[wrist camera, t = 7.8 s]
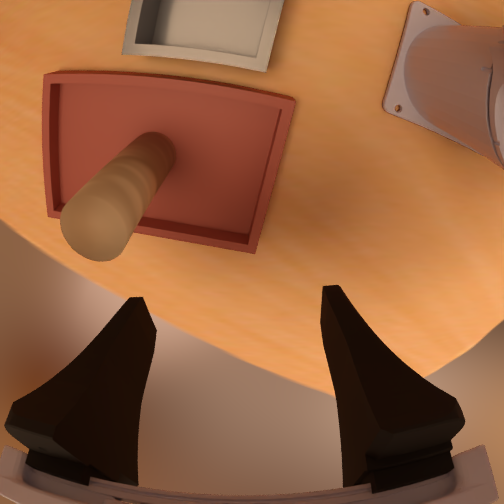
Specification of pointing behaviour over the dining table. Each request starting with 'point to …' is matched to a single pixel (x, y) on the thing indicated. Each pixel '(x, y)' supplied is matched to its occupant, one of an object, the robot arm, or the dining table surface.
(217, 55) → the grey open box
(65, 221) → the dowel
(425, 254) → the dining table surface
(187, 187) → the tray
